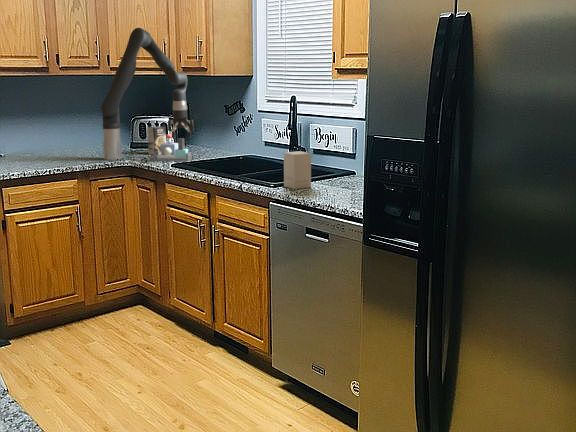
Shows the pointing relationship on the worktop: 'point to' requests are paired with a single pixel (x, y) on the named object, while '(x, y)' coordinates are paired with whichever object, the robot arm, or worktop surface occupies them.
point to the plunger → (169, 138)
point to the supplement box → (297, 169)
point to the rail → (188, 157)
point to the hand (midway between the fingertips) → (181, 138)
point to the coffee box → (156, 139)
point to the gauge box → (168, 148)
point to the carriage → (181, 149)
